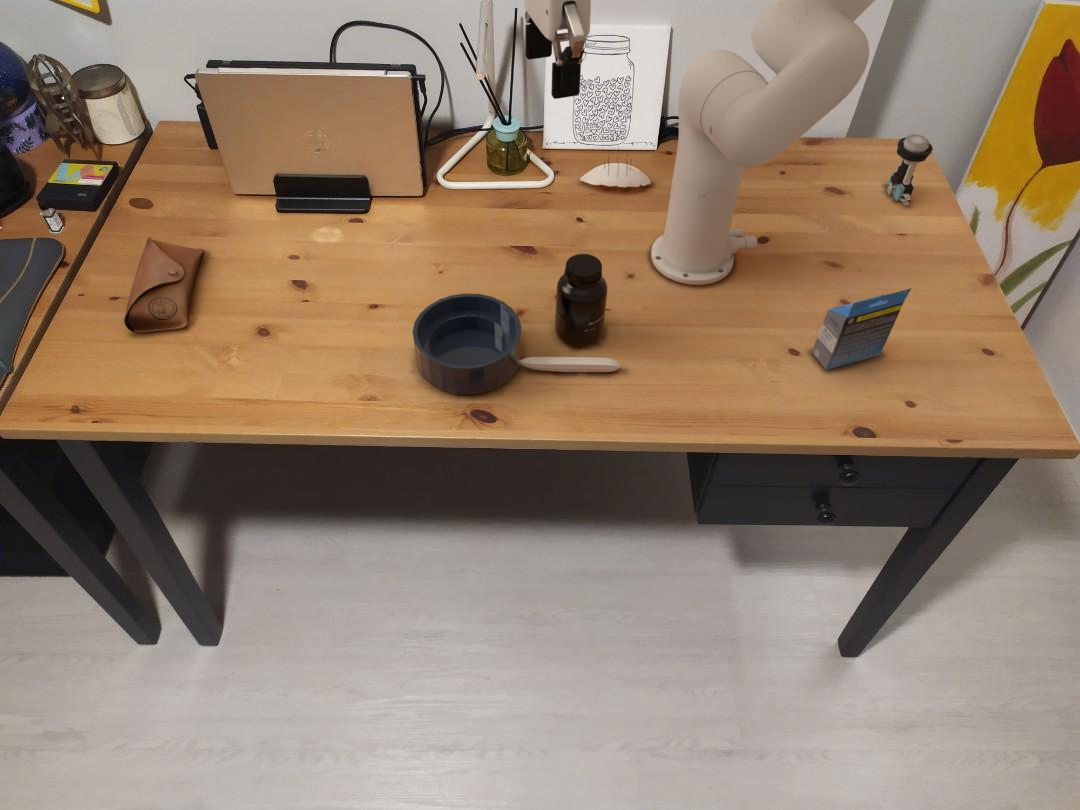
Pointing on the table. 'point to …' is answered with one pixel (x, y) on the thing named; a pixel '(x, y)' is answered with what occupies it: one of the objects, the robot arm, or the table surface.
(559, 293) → the supplement bottle
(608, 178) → the pincushion
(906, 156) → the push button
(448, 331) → the bowl
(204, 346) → the table surface
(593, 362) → the pen
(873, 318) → the blue cardboard box
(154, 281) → the sunglasses case
